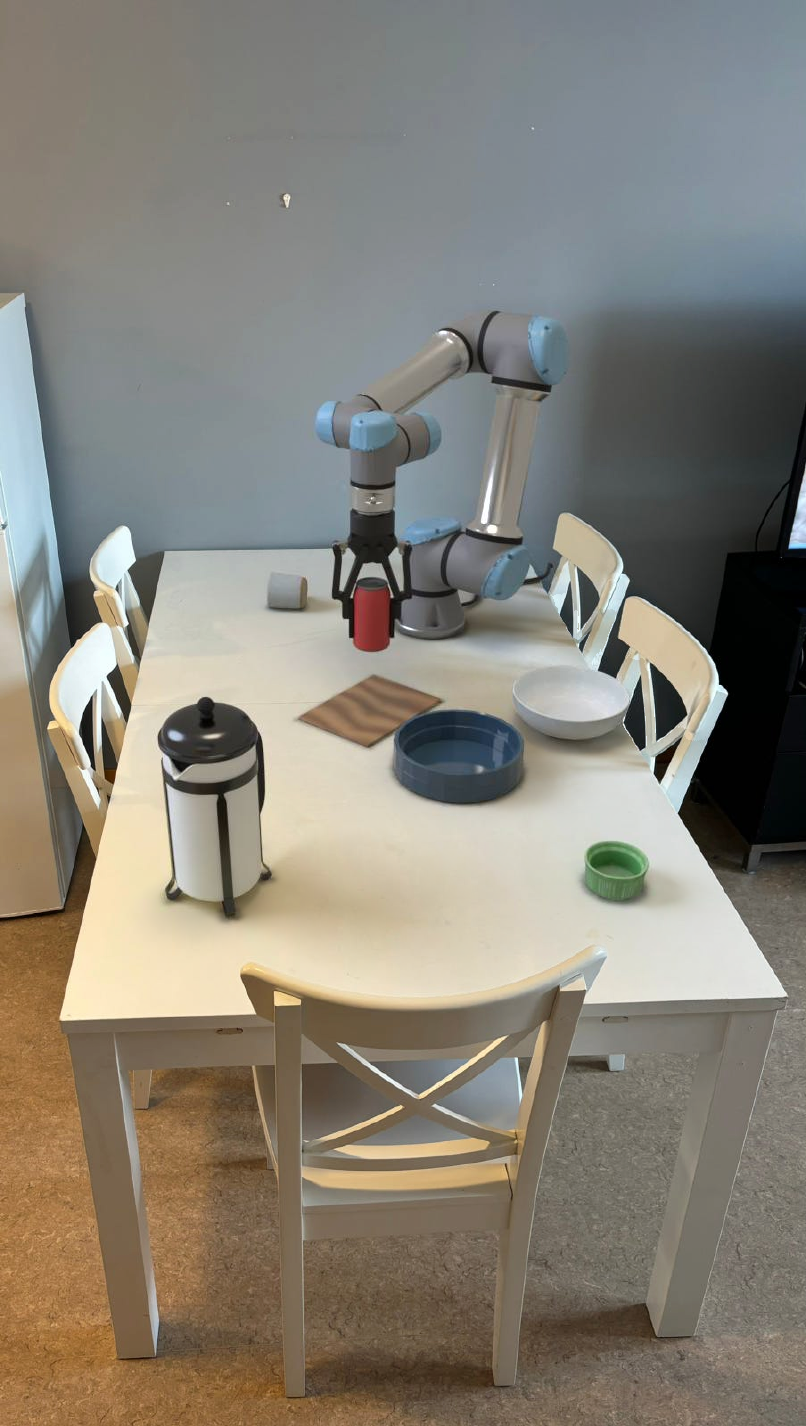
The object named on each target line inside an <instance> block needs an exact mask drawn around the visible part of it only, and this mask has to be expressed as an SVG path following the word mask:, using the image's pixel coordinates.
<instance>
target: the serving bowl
mask: <svg viewBox="0 0 806 1426" xmlns="http://www.w3.org/2000/svg"><path fill="white" fill-rule="evenodd" d="M511 692H512V693H511V694H512V700H513V705H514V708H515V710H516V712H517V713H518V715H519V716H520V718H521V719H522V720H523V721H524V722H525V723H526V724H527V725H528V726H530V727H531V728H533V729H534V730H536V731H537V732H540V733H542V734H544V735H547V736H550V737H554V738H557V739H564V740H589V739H593V738H598V737H600V736H603V735H606V734H608V733H609V732H611V731H613V730H614V729H615V728H616V727H618V726H619V725H620V724H621V722H622V721H623V720H624V719H625V717H626V715H627V712H628V710H629V707H630V704H631V694H630V692H629V690H628V689H627V687H626V686H625V685H624V684H623V683H622V682H621V681H619V680H618V679H617V678H615V677H614V676H612V675H609V674H607V673H605V672H603V671H599V670H597V669H593V668H589V667H584V666H583V667H582V666H577V665H566V664H565V665H563V664H562V665H560V664H559V665H558V664H557V665H556V664H555V665H545V666H539V667H535V668H532V669H529V670H527V671H525V672H523V673H521V674H520V675H519V676H517V677H516V678H515V680H514V682H513V684H512V687H511Z"/></svg>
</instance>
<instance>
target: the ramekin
mask: <svg viewBox="0 0 806 1426" xmlns="http://www.w3.org/2000/svg"><path fill="white" fill-rule="evenodd" d="M584 864H585V865H584V882H585V885H586V886H587V888H588V889H589V890H590V891H591V892H592V893H594V894H595V895H597V896H599V897H600V898H603V899H606V900H612V901H624V900H629V899H631V898H635V896H637V895H638V894H640V892H641V890H642V887H643V884H644V880H645V876H646V874H647V872H648V870H649V866H650V862H649V859H648V856H647V855H646V853H645V852H644V851H642V850H641V849H640V848H639V847H637V846H635V845H632V844H630V843H627V842H623V841H618V840H604V841H603V840H601V841H598V842H595V843H592V844H591V845H590V846H589V847H588V848H587V849H586V850H585V852H584Z"/></svg>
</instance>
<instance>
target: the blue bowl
mask: <svg viewBox="0 0 806 1426" xmlns="http://www.w3.org/2000/svg"><path fill="white" fill-rule="evenodd" d="M524 753H525V741H524V738H523V736H522V734H521V732H520V731H519V730H518V729H517V728H516V727H514V725H512V724H511V723H509V722H507V721H506V720H504V719H502V718H500V717H497V716H495V715H493V714H492V715H491V714H489V713H486V712H480V711H477V710H470V709H459V708H458V709H457V708H456V709H455V708H452V709H438V710H433V711H427V712H423V713H421V714H420V715H418V716H415V717H412V718H411V719H409V720H407V721H406V722H404V723H403V724H402V725H401V726H400V727H399V728H398V729H396V730H395V733H394V736H393V754H392V755H393V756H392V757H393V758H392V764H393V765H392V767H393V771H394V775H395V776H396V778H397V779H398V780H399V782H400V783H401V784H402V785H403V786H404V787H406V788H408V790H411V791H412V792H414V793H415V794H419V795H420V796H423V797H425V798H429V799H432V800H436V801H441V802H448V803H449V802H450V803H460V804H461V803H478V802H484V801H488V800H493V799H496V798H498V797H500V796H503V795H506V794H508V793H510V791H511V790H513V789H514V788H515V787H516V786H517V785H518V784H519V782H520V780H521V778H522V776H523V765H524Z"/></svg>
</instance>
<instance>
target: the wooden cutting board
mask: <svg viewBox="0 0 806 1426" xmlns="http://www.w3.org/2000/svg"><path fill="white" fill-rule="evenodd" d="M440 702H442V698H441V697H437V696H434V695H432V694H428V693H426V692H424V691H420V690H417V689H416V688H412V687H409V686H407V685H403V684H401V683H398V682H395V681H393V680H390V679H388V678H384V677H382V676H379V675H376V674H372V675H370V676H369V677H367V678H365V679H364V680H362V681H360V682H358V683H357V684H355V685H353V686H351V687H349V688H347V689H345V690H344V691H342V692H340V693H338V694H336V695H334V696H333V697H331V698H329V699H328V700H326V701H324V702H322V703H321V704H319V705H317V706H316V707H314V708H312V709H310V710H308V711H306V712H305V713H303V714H301V715H299V716H298V720H299V721H301V722H304V723H306V724H308V725H311V726H313V727H316V728H319V729H321V730H323V731H326V732H328V733H331V734H334V735H336V736H338V737H341V738H343V739H346V740H348V741H351V742H353V743H355V744H358V745H361V746H363V747H366V748H370V747H371V746H373V745H374V744H376V743H377V742H379V741H381V740H382V739H384V738H385V737H387V736H388V735H390V734H392V733H393V732H394V731H395V732H396V731H397V729H398V728H399V727H400V726H401V725H402V724H403V723H404V722H406V721H407V720H409V719H411V718H412V717H415V716H418V715H420V714H423V713H425V712H426V711H427V710H430V709H431V708H433V707H435V706H436V705H438V703H440Z"/></svg>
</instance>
